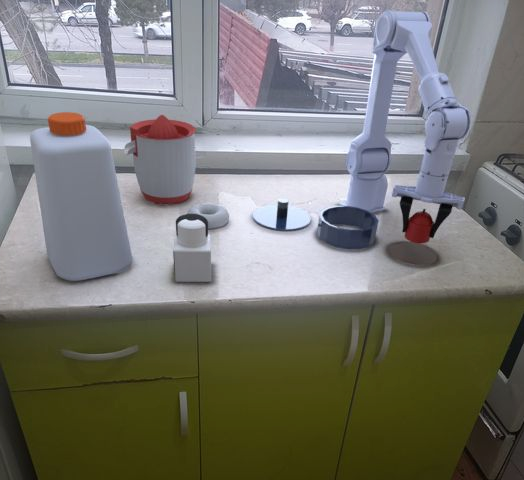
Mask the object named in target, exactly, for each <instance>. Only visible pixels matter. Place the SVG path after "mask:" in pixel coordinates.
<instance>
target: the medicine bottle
mask: <svg viewBox="0 0 524 480" xmlns="http://www.w3.org/2000/svg"><path fill="white" fill-rule="evenodd" d="M172 255H173V256H172V257H173V273H174V274H173V275H174V282H175V283H210V282H212V235H211V234H210V233H209V229H208V220H207V219H206V218H205V217H204V216H202V215H198V214H187V213H185V214H182V215H180V216H178V217H177V218H176V220H175V234H174V239H173V248H172Z"/></svg>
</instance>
